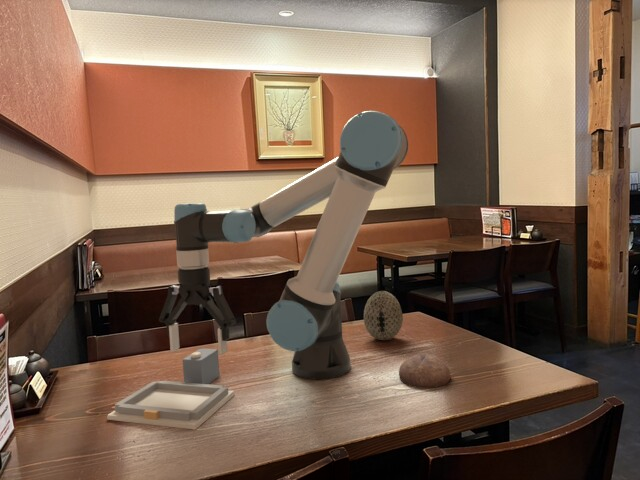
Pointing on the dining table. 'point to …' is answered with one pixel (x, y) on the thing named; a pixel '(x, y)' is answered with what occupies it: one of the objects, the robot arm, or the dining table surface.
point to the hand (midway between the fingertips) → (198, 351)
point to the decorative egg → (383, 316)
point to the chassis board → (172, 404)
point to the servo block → (201, 366)
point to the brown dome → (424, 371)
